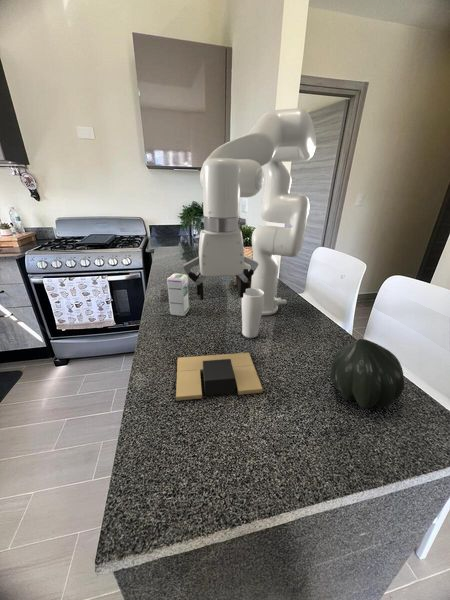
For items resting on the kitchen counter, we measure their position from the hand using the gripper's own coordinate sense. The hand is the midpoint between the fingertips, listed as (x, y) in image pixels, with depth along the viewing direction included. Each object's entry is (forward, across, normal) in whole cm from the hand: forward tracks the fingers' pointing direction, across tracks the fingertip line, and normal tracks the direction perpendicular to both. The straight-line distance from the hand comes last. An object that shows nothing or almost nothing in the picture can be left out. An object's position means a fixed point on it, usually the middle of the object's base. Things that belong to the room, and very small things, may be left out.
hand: (221, 296), depth 61 cm
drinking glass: (+20, -11, -12) cm, 26 cm away
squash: (+20, -31, +17) cm, 40 cm away
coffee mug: (+21, -20, -52) cm, 60 cm away
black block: (+19, +2, +9) cm, 21 cm away
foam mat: (+19, +2, +6) cm, 20 cm away
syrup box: (+20, +12, -30) cm, 38 cm away
